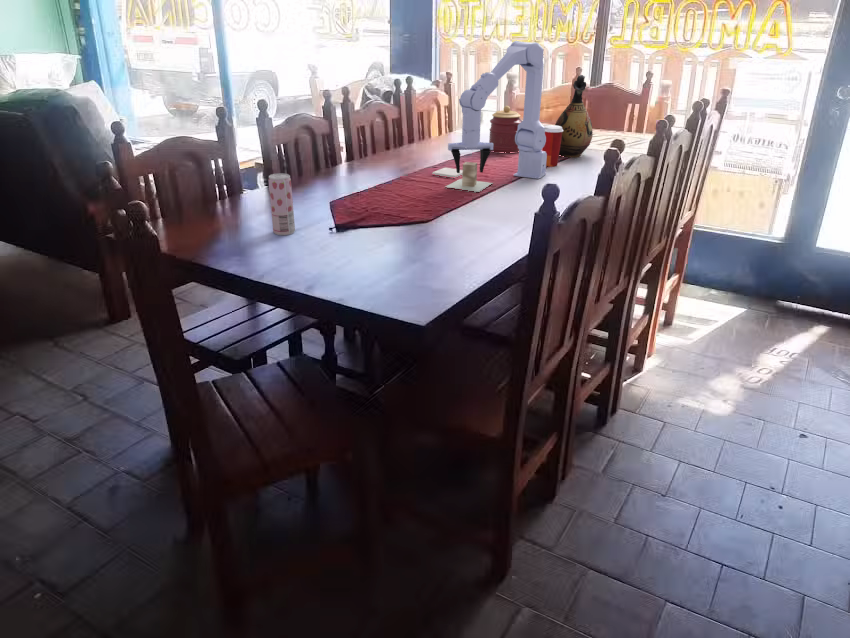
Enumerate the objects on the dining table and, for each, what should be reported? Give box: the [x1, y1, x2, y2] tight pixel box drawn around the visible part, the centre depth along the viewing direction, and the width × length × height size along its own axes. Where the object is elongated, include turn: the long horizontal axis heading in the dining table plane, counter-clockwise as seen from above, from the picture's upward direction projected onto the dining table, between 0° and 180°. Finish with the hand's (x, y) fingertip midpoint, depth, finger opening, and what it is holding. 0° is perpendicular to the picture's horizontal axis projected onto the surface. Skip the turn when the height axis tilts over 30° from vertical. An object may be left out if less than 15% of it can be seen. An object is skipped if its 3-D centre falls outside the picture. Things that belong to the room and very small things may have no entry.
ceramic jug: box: [554, 74, 594, 159], centre depth 258 cm, size 17×15×30 cm
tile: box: [432, 167, 463, 178], centre depth 234 cm, size 2×9×9 cm
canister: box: [488, 105, 523, 153], centre depth 267 cm, size 13×13×18 cm
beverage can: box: [268, 172, 296, 236], centre depth 172 cm, size 6×6×15 cm
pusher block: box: [461, 161, 478, 187], centre depth 218 cm, size 4×4×7 cm
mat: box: [444, 178, 494, 193], centre depth 219 cm, size 12×12×1 cm
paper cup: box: [541, 124, 563, 168], centre depth 245 cm, size 8×8×14 cm
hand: (469, 172), depth 217 cm, fingers open, 7 cm apart
